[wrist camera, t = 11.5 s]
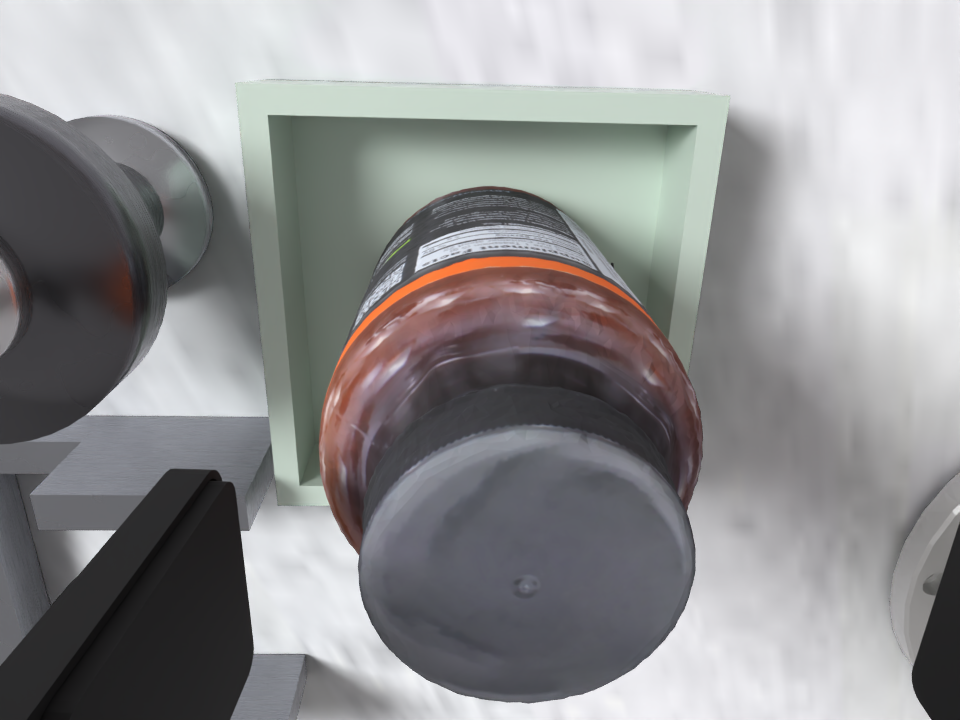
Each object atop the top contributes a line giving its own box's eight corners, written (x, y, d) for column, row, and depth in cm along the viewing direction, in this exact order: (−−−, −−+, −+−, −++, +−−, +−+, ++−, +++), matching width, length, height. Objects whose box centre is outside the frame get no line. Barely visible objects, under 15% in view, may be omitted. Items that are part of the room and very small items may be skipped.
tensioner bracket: (282, 417, 21) (245, 495, 17) (307, 676, 24) (280, 786, 21) (-37, 414, 20) (-147, 494, 17) (38, 677, 24) (-37, 789, 20)
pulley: (231, 82, 17) (77, 99, 10) (255, 319, 19) (143, 463, 12) (-26, 75, 17) (-363, 88, 10) (29, 316, 19) (-212, 461, 12)
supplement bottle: (566, 416, 20) (680, 799, 10) (357, 373, 19) (237, 736, 9) (632, 209, 18) (872, 417, 7) (398, 153, 17) (303, 295, 7)
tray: (690, 90, 17) (730, 95, 15) (642, 453, 21) (667, 507, 19) (268, 79, 17) (234, 82, 14) (299, 450, 21) (277, 505, 18)
